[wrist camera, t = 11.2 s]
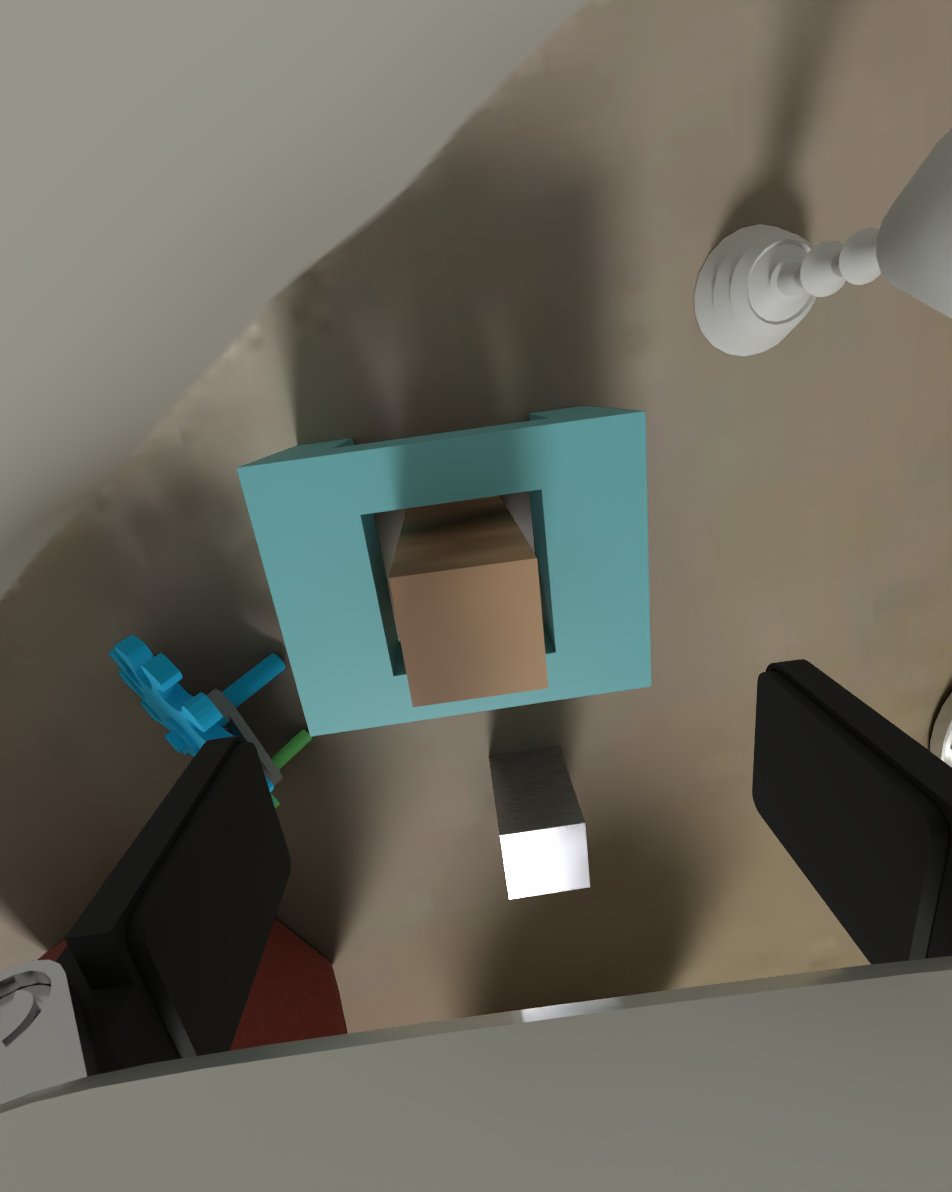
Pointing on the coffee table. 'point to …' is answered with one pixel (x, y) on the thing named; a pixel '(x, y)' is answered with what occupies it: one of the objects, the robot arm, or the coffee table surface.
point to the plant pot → (283, 994)
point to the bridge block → (440, 475)
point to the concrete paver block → (539, 823)
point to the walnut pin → (467, 603)
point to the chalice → (828, 265)
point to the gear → (200, 704)
